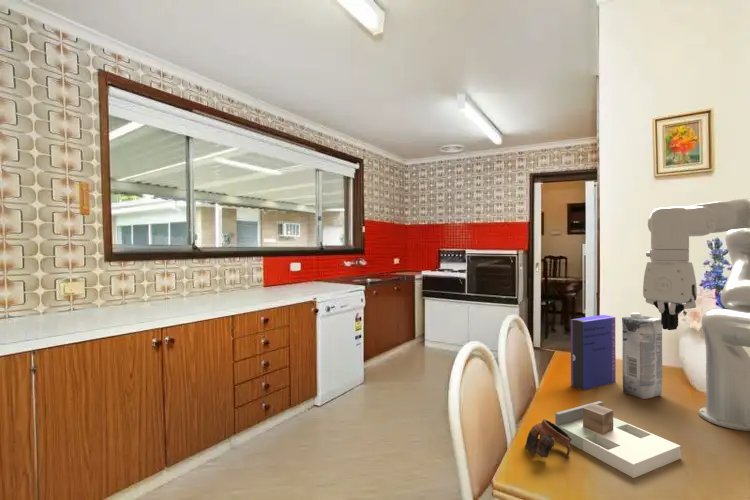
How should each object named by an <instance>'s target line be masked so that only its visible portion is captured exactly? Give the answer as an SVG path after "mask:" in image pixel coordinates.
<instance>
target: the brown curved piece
mask: <svg viewBox="0 0 750 500" xmlns="http://www.w3.org/2000/svg"><path fill="white" fill-rule="evenodd" d="M571 440H572V439H571V438H570V437H569V436H568V435H567V434H566V433H565V432H564V431H563V430H562V429H560V428H559V427H557V426H556V425H555V423H553V422H551V421H550V420H547V419H543V420H542V421H541V422H540V423H536V424H534V425H533V426H532V427H531V429H530V431H529V432H528V435H527V437H526V442H525V445H524V446H525V448H526V450H527V452H528V453H529V454H530V455H532V456H533V457H535V456H536V452H537V455H538V456H539V457H541V458H546V459H547V458H548V456H549V454H550V452H551V451H552V449H553V447H554V446H555V442H557V443H559V444H560V445H564V446H565V447H566V449H567V451H566V455H565V457H566V458H569V455H570V453H571V444H570V441H571Z"/></svg>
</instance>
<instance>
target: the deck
mask: <svg viewBox="0 0 750 500" xmlns="http://www.w3.org/2000/svg"><path fill="white" fill-rule="evenodd" d="M593 403H594V404H597V405H600V406H602V407H604V401H600V400H598V401H594V402H591V403H588V404H587V403H586V404H584V405H580V406H576V407H572V408H569V409H565V410H561V411H558V412H555V413H554V415H555V418H554V419H555V421H554V422H555V423H554V424H555V425H556V426H557V427H559V428H560V429H562V430H563V431H564V432H565V433H566V434H567V435H568V436H569V437H570V438H571V439H572V440H571V441H570V443H569V444H570V445H572V446H574V447H576V448H578V449H579V450H582V451H583V452H586V453H587V454H589V455H590V456H592V457H594V458H596V459H598V460H599V461H601V462H603V463H605V464H608V465H609V466H611V467H613V468H614V469H616V470H618V471H620V472H621V473H624V474H626V475H627V476H629V477H631V478H633V479H634V478H637V477H639V476H642V475H645V474H647V473H650V472H651V471H654V470H657V469H659V468H661V467H663V466H666V465H668V464H670V463H673V462H675V461H677V460H680V459H682V458H681V454H682V453H681V448H682V447H681V445H679V444H678V443H675V442H672V441H670V440H668V439H666V438H663V437H661V436H659V435H656V434H654V433H651V432H649V431H647V430H644V429H642V428H640V427H637V426H635V425H633V424H630V423H629V422H625V421H624V420H621V419H618V418H616V417H614V416H613V430H612V431H610V432H608V433H606V434H604V435H602V434H599V433H597V432H594V431H592V430H590V429H587V428H585V427H583V407H586V406H588V405H591V404H593Z"/></svg>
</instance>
